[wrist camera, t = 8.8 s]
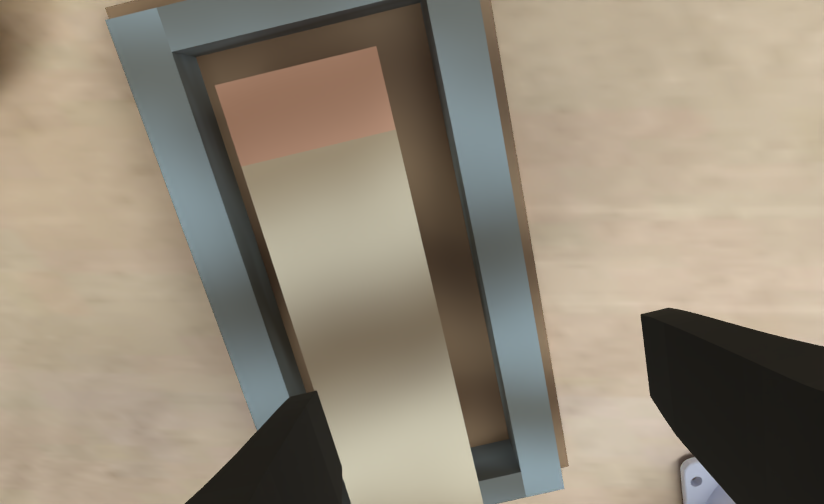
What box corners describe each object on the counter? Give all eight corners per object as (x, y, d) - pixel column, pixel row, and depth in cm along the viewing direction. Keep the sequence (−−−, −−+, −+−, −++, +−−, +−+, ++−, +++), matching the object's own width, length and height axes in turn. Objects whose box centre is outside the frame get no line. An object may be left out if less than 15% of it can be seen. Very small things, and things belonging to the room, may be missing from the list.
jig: (562, 453, 23) (586, 500, 20) (298, 512, 23) (287, 567, 21) (472, -75, 17) (488, -108, 14) (117, 11, 17) (67, -5, 14)
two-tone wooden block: (462, 415, 21) (484, 508, 16) (367, 437, 21) (361, 535, 17) (378, 60, 17) (376, 46, 12) (262, 88, 17) (214, 85, 13)
